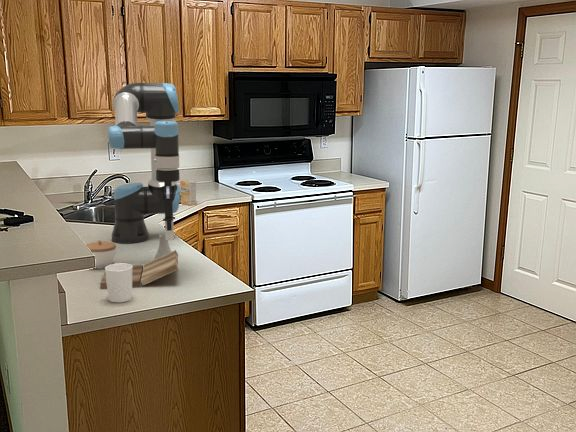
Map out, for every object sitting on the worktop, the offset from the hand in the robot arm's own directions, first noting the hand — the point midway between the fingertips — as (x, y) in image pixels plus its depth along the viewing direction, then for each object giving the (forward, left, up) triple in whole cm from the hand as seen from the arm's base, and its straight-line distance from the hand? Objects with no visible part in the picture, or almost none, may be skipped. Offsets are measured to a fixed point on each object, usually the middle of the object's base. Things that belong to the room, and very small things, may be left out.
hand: (169, 239), depth 195 cm
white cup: (+20, -15, -13) cm, 28 cm away
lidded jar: (-15, -25, -13) cm, 32 cm away
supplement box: (-128, +7, -13) cm, 129 cm away
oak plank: (+1, -3, -10) cm, 10 cm away
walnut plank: (+1, -16, -13) cm, 20 cm away
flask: (-18, -3, -13) cm, 22 cm away
